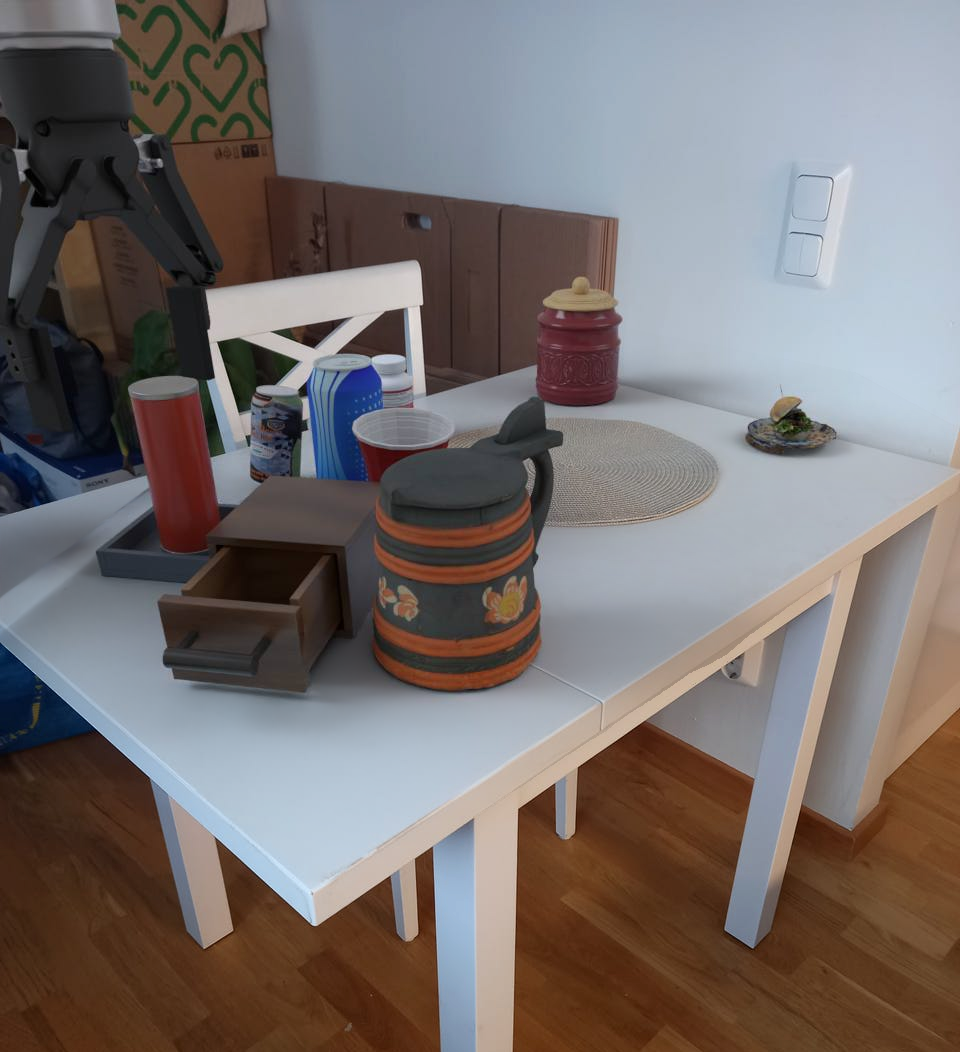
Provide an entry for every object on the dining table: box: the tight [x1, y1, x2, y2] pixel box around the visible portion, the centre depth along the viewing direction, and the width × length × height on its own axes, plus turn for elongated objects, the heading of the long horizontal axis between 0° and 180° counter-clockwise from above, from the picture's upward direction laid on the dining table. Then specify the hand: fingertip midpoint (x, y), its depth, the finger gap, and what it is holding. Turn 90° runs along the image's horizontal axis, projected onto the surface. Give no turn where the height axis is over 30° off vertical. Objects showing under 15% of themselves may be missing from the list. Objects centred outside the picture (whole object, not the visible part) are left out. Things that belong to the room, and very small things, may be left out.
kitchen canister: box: [535, 276, 624, 406], centre depth 142 cm, size 13×13×18 cm
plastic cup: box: [352, 407, 455, 482], centre depth 100 cm, size 11×11×12 cm
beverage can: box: [249, 384, 304, 486], centre depth 112 cm, size 6×7×12 cm
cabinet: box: [206, 476, 381, 639], centre depth 87 cm, size 15×13×9 cm
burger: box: [745, 384, 837, 455], centre depth 124 cm, size 12×12×8 cm
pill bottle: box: [371, 353, 415, 409], centre depth 126 cm, size 6×6×11 cm
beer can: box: [306, 353, 383, 482], centre depth 107 cm, size 8×8×16 cm
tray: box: [95, 502, 239, 584], centre depth 97 cm, size 14×14×3 cm
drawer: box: [156, 545, 343, 694], centre depth 76 cm, size 18×11×7 cm, turn 169°
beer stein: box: [372, 396, 564, 692], centre depth 77 cm, size 19×15×20 cm
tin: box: [127, 375, 221, 556], centre depth 93 cm, size 6×6×17 cm
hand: (131, 401), depth 66 cm, fingers open, 13 cm apart
